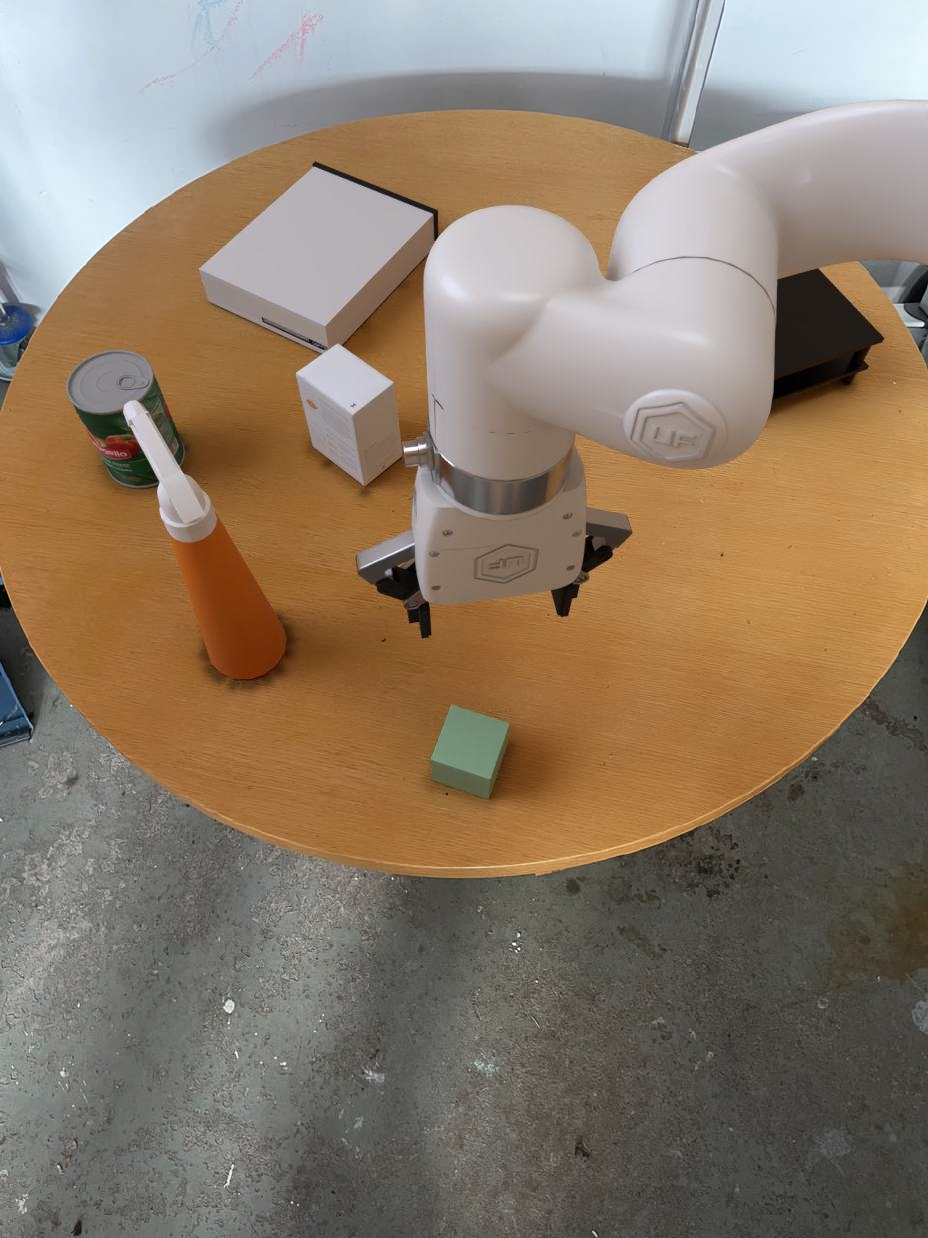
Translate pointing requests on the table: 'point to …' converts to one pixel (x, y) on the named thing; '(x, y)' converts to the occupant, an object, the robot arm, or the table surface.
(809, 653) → the table surface
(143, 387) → the canned tomato
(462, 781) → the cube
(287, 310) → the disc drive
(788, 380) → the plate
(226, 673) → the spray bottle
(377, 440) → the small box
